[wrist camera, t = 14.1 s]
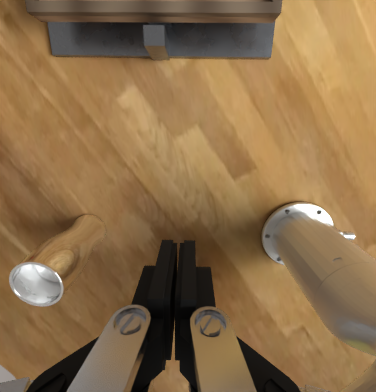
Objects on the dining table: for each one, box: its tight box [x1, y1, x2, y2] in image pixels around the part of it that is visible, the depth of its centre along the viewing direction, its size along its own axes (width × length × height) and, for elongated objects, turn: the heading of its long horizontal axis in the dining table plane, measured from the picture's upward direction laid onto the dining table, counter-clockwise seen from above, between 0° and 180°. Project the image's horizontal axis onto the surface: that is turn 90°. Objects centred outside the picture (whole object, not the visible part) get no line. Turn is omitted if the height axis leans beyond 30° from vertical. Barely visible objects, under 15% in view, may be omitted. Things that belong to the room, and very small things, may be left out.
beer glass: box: [9, 215, 106, 306], centre depth 34 cm, size 7×7×15 cm
